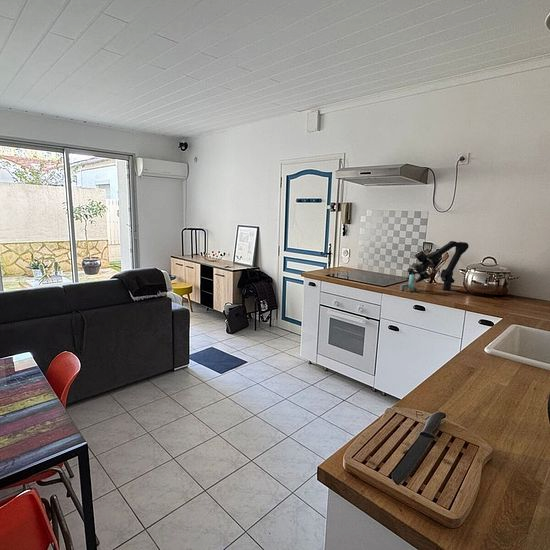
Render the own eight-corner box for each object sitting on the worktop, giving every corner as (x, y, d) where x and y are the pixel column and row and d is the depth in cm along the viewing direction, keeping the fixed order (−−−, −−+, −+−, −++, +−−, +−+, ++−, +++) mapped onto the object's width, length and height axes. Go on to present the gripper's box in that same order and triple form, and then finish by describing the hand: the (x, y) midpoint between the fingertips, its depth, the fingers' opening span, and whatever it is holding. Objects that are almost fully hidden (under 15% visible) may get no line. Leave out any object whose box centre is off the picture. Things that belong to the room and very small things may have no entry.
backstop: (410, 289, 274) (410, 283, 273) (401, 290, 269) (402, 284, 268) (408, 288, 276) (408, 283, 275) (399, 290, 271) (400, 284, 270)
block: (416, 291, 269) (417, 287, 268) (409, 292, 264) (409, 288, 264) (410, 289, 274) (410, 285, 273) (402, 290, 269) (402, 286, 269)
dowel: (408, 290, 271) (409, 274, 269) (413, 291, 269) (415, 274, 267) (407, 291, 267) (408, 275, 265) (413, 292, 265) (414, 275, 263)
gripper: (410, 257, 275) (397, 272, 273) (428, 260, 258) (415, 276, 256) (417, 267, 279) (404, 281, 277) (435, 270, 262) (422, 286, 260)
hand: (411, 281), depth 267 cm, fingers open, 9 cm apart
